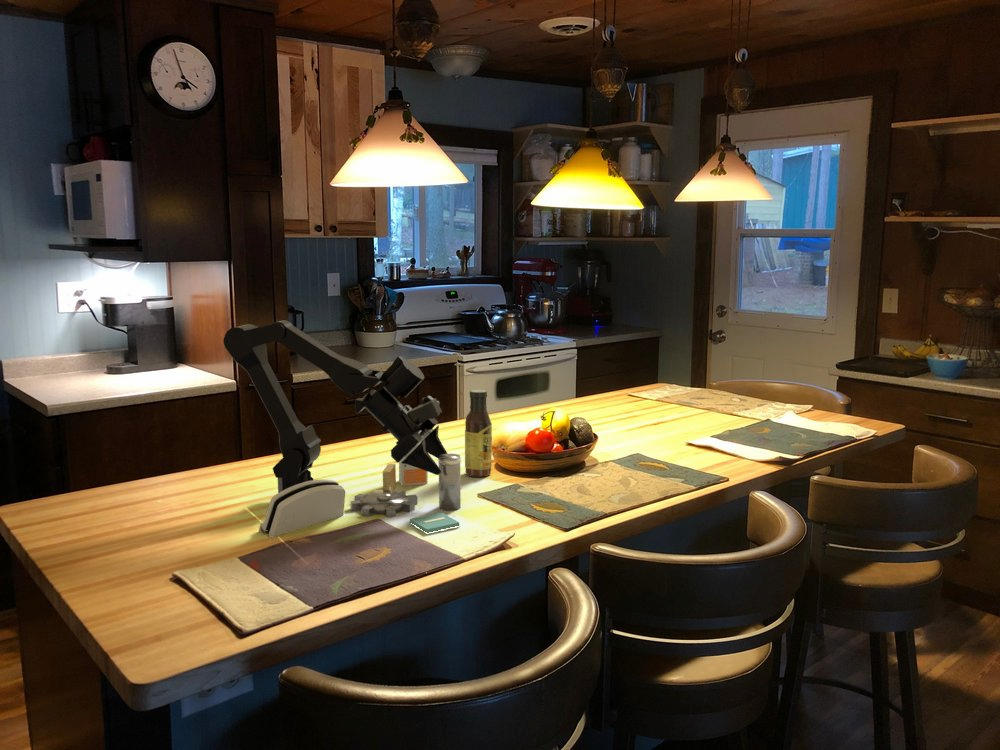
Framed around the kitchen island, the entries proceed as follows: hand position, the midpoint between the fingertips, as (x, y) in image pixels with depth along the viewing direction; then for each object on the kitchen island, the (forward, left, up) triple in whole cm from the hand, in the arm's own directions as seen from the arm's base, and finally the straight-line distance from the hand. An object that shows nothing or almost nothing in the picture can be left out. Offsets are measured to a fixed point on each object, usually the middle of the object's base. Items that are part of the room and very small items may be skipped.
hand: (444, 467), depth 172 cm
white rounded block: (-28, +6, -9) cm, 30 cm away
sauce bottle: (+19, +17, -9) cm, 27 cm away
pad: (-7, -9, -9) cm, 14 cm away
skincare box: (+3, +19, -9) cm, 21 cm away
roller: (+1, -1, -9) cm, 9 cm away
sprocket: (-10, +8, -8) cm, 15 cm away
